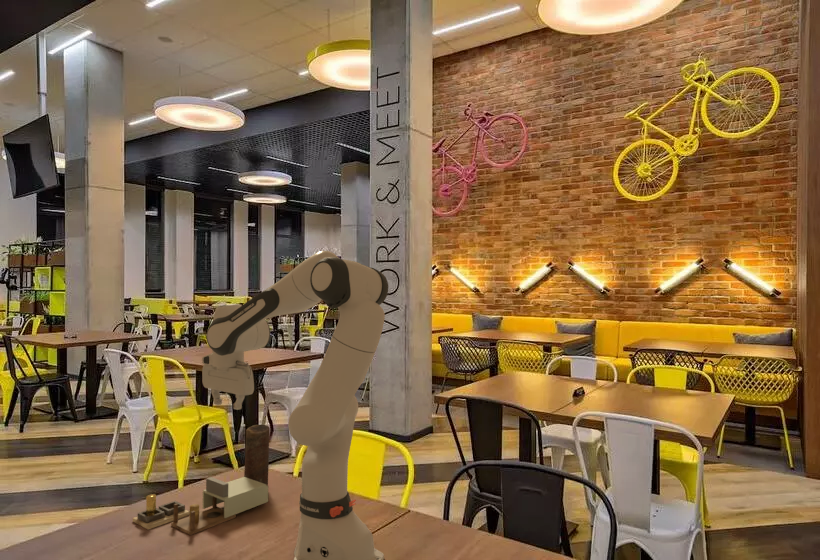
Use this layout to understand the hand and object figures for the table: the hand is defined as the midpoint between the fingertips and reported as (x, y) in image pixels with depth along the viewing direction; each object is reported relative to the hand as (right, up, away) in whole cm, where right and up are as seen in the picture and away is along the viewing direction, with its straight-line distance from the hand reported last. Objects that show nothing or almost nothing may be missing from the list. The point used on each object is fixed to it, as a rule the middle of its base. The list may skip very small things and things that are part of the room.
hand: (227, 406), depth 166 cm
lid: (+3, -28, -2) cm, 28 cm away
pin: (-17, -28, -11) cm, 35 cm away
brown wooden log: (+5, -29, +12) cm, 32 cm away
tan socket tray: (-15, -29, -9) cm, 34 cm away
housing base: (-3, -29, -10) cm, 31 cm away
